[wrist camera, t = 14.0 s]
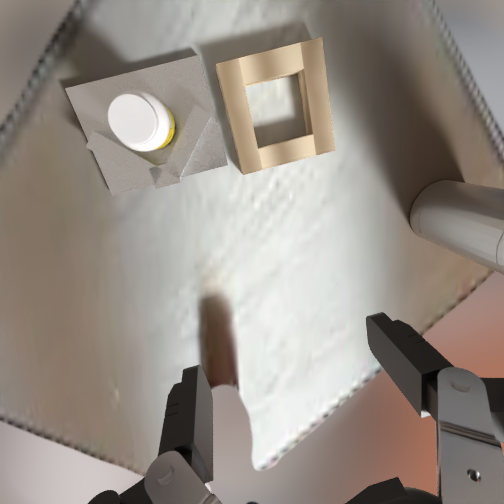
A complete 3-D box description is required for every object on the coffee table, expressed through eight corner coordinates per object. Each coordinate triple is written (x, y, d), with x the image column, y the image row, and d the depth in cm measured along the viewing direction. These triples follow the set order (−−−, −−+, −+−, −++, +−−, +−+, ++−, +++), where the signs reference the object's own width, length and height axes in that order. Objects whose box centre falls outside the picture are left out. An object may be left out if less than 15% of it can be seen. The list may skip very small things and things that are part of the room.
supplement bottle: (140, 155, 34) (115, 160, 25) (120, 106, 32) (84, 92, 23) (183, 142, 34) (173, 142, 25) (166, 92, 32) (148, 73, 23)
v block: (199, 57, 32) (197, 47, 28) (228, 166, 37) (229, 169, 33) (69, 90, 31) (52, 84, 28) (115, 196, 36) (106, 201, 33)
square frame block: (314, 44, 33) (322, 36, 30) (327, 149, 37) (335, 150, 35) (215, 69, 32) (215, 63, 30) (241, 172, 37) (243, 174, 35)
